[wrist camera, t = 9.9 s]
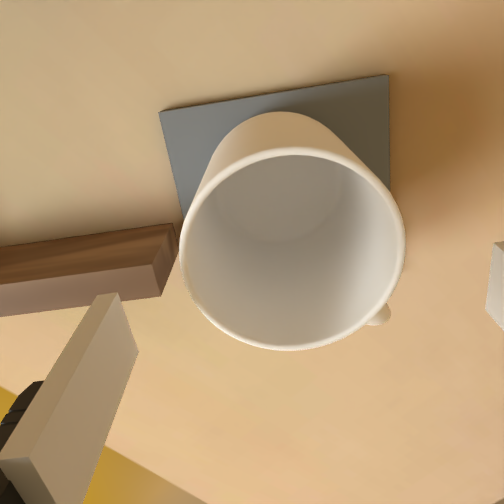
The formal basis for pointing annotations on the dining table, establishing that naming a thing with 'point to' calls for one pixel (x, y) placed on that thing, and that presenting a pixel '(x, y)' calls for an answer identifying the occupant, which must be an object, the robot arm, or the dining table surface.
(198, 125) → the coaster
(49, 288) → the frame
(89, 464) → the robot arm
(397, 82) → the dining table surface
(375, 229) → the mug
